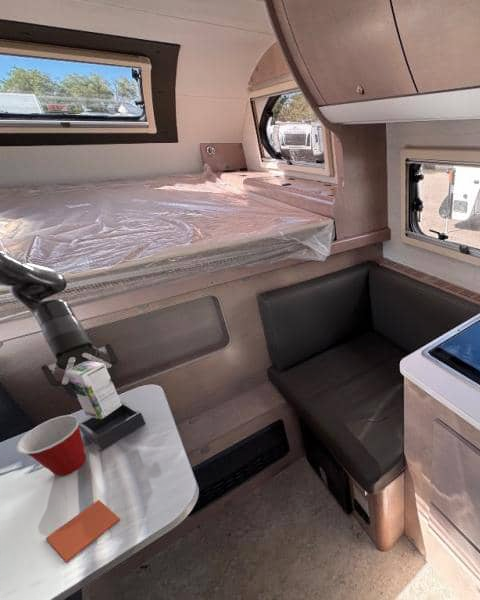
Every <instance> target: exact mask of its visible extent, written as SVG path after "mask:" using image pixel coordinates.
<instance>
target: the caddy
mask: <svg viewBox="0 0 480 600" xmlns="http://www.w3.org/2000/svg"><path fill="white" fill-rule="evenodd" d="M120 402H121V404H122V405H121V406H120V407H119V408H117V409H116V410H114V411H113V412H112V413H110V414H109V415H107V416H106V417H104V418H103V419H98V418H94V417H91V416H89V417H88V418H86V419H84V420H83V421H80V422H79V429H80V432H81V433H82V436H83V437H84V438H86V439H88V441H90V442H91V443H93V445H95V446H96V447H98V448H99V449H100V450H102V451H105V450H107V449H109V447H111V446H113V445H114V444H117V443H118V442H120V441H121V440H123V439H125V438H126V437H127V436H129V435H131V434H132V433H134V432H135V431H137V430H138V429H140V428H142V427H144V426H146V421H145V419H144V416H143V414H142V412H141V411H140V410H138V409H137V408H135V407H133V406H131V405H130V404H128V403H127V402H125V401H123V400H120ZM125 415H126V416H128V418H125V419H124V420H122V421H121V422H119V423H118V424H116V425H114V426H113V427H110V428H109V429H107V430H106V431H104V432H102V433H101V434H98V433H96V432H97V431H98V430H100V429H102V428H104V427H105V426H107V425H109V424H110V423H112V422H114V421H115V420H117V419H119V418H121V417H123V416H125Z"/></svg>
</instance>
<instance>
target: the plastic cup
mask: <svg viewBox="0 0 480 600" xmlns="http://www.w3.org/2000/svg"><path fill="white" fill-rule="evenodd" d="M79 423H81V421H80V419H79V417H78V416H77V415H73V414H66V415H60V416H57V417H54V418H51V419H48V420H47V421H44V422H42V423H40V424H38V425H37V426H35V427H34V428H32V429H31V430H29V431H28V432H26V433H25V434H24V435H23V436H22V438H21V439H20V440H19V441H18V443H17V445H16V450H17V452H18V453H20V454H22V455H23V454H24V455H27V456H30V457H31V458H33V459H34V460H35V461H36V462H38V463H39V464H40V465H42V466H43V467H44V468H46V469H48V470H49V471H50V472H51V473H52V474H53V475H56V476H58V477H65V476H68V475H70V474H72V473H74V472H76V471H77V470H79V469H80V468H82V467H83V465H84V464H85V463H86V459H87V455H86V452H85V446H84V441H83V437H82V434H81V430H80V428H79Z"/></svg>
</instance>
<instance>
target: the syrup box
mask: <svg viewBox="0 0 480 600" xmlns="http://www.w3.org/2000/svg"><path fill="white" fill-rule="evenodd" d="M64 373H66V375H67V377H68V378H69V381H70V383H71V385H72V387H73V388H74V390H75V392H76V394H77V396H78V398H77V400H78V402H79V403H80V406H81V408H82V410H83V412H84V414H85V416H86V417H94V418H98V419H103V418H104V417H106V416H107V415H109V414H110V413H112V412H113V411H114V410H116V409H117V408H119V407H120V406H121V405H122V404H121V402H120V401H121V399H120V397H119V394H118V391H117V390H116V386H115V385H114V383H112V380H111V378H110V376H109V373H108V371H107V369H106V366H105V364H104V363H99V362H95V361H94V362H93V361H90V360H89V361H85V362H83V363H80V364H78V365H76V366H74V367H73V368H71V369H69V370H67V371H66V372H65V371H64Z"/></svg>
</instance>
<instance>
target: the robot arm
mask: <svg viewBox="0 0 480 600" xmlns="http://www.w3.org/2000/svg"><path fill="white" fill-rule="evenodd" d="M67 285H68V282H67V280H66V278H65V276H64V275H63V274H61V273H60V272H59V271H57V270H55V269H52V268H50V267H47V266H43V265H39V264H35V263H31V262H26V261H24V260H23V261H22V260H20V259H18V258H17V257H15V256H13V255H11V254H9V253H7V252H5V251H3V250H1V249H0V286H3V287H9V294H11V296H12V297H14V299H15V300H17V301H18V302H19V303H20V304H22V306H24V307H25V308H26V309H27V310H28V311H29V312H30V313H31V314H32V315H33V316H34V318H35V320H36V322H37V324H38V325H39V327H40V330H41V333H42V336H43V338H44V340H45V342H46V343H47V345H48V347H49V349H50V351H51V352H52V354H53V356H54V358H55V362H54V363H52V364H48V365H46V364H45V365H42V366H41V367H40V369H41V371H42V373H43V374H44V376H45V378H46V379H47V381H48V383H49V385H50V387H51V388H52V389H54V390H56V389H59V388H63V389H64V391H65V393H66V394H67V396H68V397H69V398H70V399H71V398H73V399H78V396H77V394H76V392H75V390H74V388H73V387H72V385H71V383H70V381H69V378H68V377H67V375H66V373H65V372H66V371H67V370H69V369H71V368H73V367H74V366H76V365H78V364H80V363H83V362H85V361H89V360H90V361H93V362H94V361H95V362H99V363H104V364H105V366H106V369H107V371H108V373H109V376H110V378H111V380H112V383H113V384H114V383H116V381H117V379H118V375H117V373H116V372H115V370H114V368H115V367H116V366H118V365H119V359H118V356H117V355H116V353H115V351H114V349H113V347H112V345H111V343H107V344H105V345H104V346H102V347H98V348H97V347H95V346H94V344H93V342H92V340H91V338H90V337H89V335H88V334H87V331H86V329H85V328H84V326H83V325H82V323H81V321H79V319H78V318H77V316H76V314H75V313H74V311H73V309H72V307H71V305H70V304H69V302H67V301H66V300H64V299H50V300H46V299H47V298H50V297H53V296H55V295H57V294H59V293H62V292H63V291H65V290H66V288H67ZM43 300H45V301H43ZM100 353H101V354H103V355H105V356H106V355H107V356H108V358H109V360H110V362H107V361H105V360H103V359H101V358H99V355H100ZM57 368H59V369H61V370H64V372H63V373H64V374H63V377H62V380H57V378H56V377H55V376H54V374H55V373H56V369H57Z"/></svg>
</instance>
